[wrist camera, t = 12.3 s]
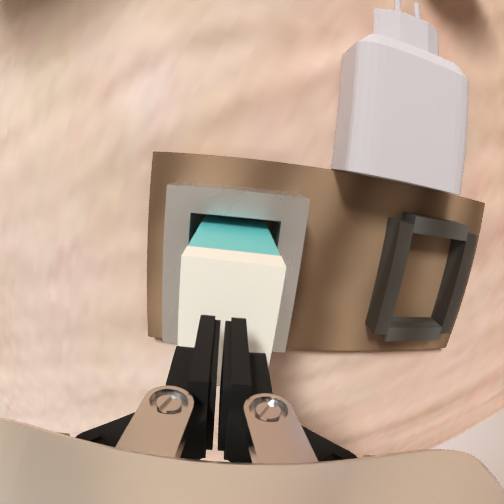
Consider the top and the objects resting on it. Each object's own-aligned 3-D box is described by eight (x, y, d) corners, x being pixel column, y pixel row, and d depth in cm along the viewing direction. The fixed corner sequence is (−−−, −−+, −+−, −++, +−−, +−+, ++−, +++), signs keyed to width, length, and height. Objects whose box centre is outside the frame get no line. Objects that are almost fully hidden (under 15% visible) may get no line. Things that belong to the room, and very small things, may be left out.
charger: (439, 28, 19) (431, 189, 23) (342, -6, 19) (327, 169, 23) (469, 13, 15) (465, 197, 19) (362, -33, 14) (349, 171, 18)
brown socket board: (478, 201, 23) (499, 207, 21) (440, 342, 27) (455, 358, 24) (156, 151, 21) (145, 150, 19) (151, 330, 25) (142, 349, 22)
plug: (265, 220, 22) (286, 267, 13) (253, 301, 24) (264, 389, 14) (205, 213, 22) (181, 255, 12) (198, 296, 23) (177, 381, 14)
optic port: (298, 193, 22) (310, 198, 18) (278, 327, 24) (284, 352, 21) (177, 180, 21) (167, 184, 18) (171, 318, 24) (162, 341, 20)
